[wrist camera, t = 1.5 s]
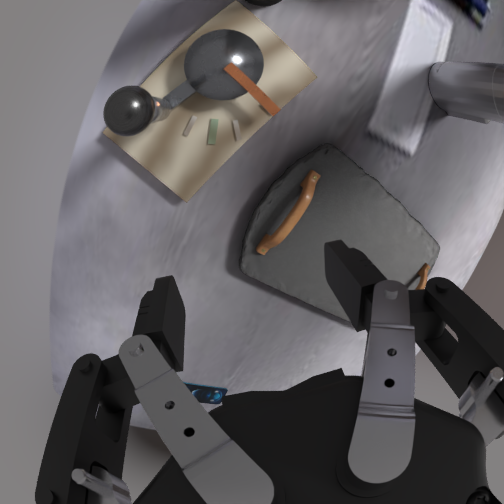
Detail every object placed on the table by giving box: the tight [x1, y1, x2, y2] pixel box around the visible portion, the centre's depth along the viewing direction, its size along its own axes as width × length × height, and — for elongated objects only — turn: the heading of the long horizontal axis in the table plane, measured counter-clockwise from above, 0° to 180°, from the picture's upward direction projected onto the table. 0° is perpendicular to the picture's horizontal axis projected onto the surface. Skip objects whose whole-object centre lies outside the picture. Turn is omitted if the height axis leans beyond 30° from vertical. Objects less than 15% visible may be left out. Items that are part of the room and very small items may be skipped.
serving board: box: [239, 144, 440, 322], centre depth 45 cm, size 39×23×6 cm, turn 57°
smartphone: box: [183, 382, 228, 404], centre depth 60 cm, size 8×1×15 cm
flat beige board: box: [103, 0, 317, 203], centre depth 31 cm, size 15×24×2 cm, turn 134°
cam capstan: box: [104, 29, 281, 137], centre depth 23 cm, size 13×15×17 cm
